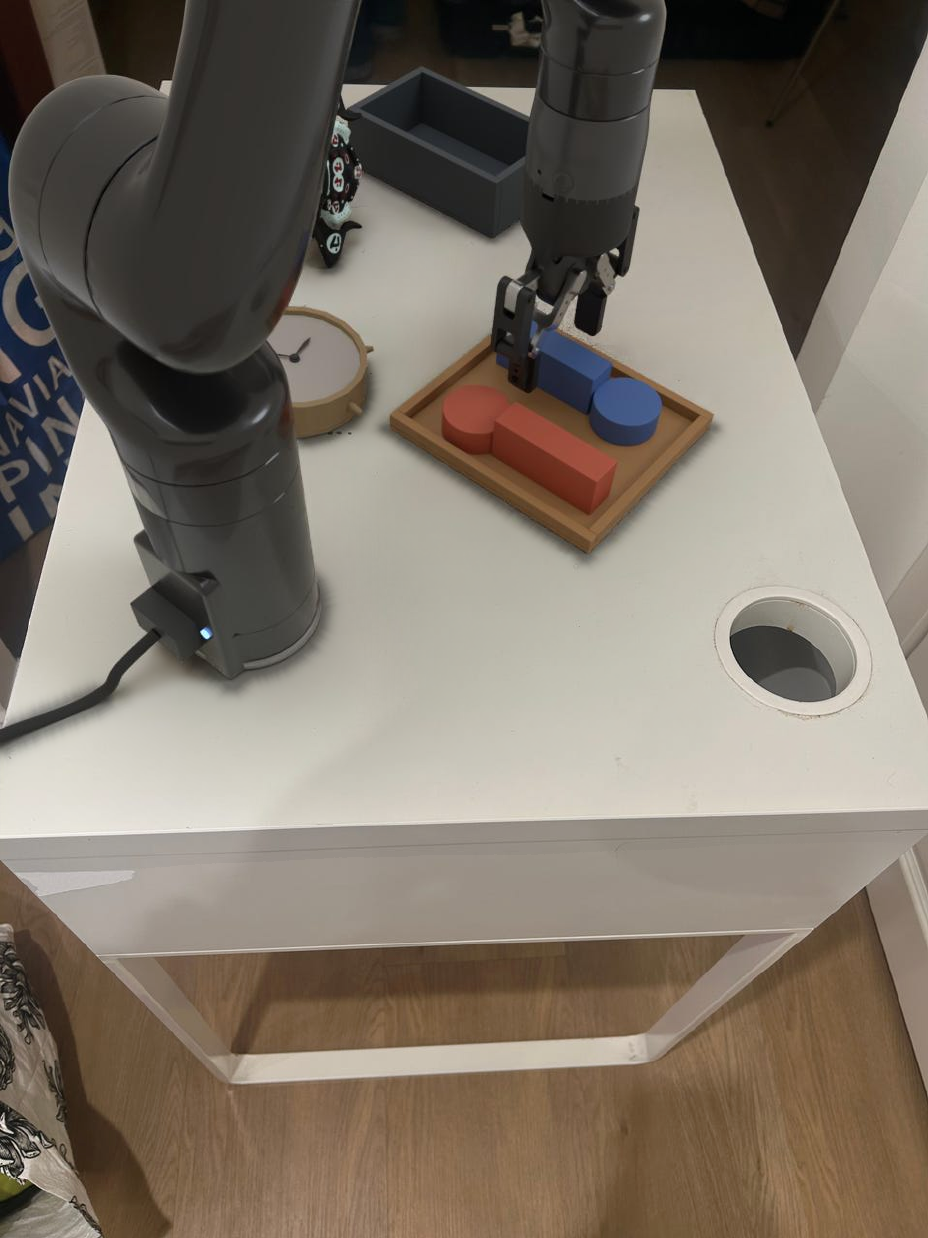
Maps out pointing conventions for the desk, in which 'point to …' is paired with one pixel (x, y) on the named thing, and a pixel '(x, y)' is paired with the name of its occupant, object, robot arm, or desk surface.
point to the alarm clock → (321, 368)
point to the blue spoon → (596, 390)
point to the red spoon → (527, 445)
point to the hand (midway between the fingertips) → (555, 357)
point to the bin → (445, 148)
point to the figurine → (337, 191)
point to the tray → (634, 463)
